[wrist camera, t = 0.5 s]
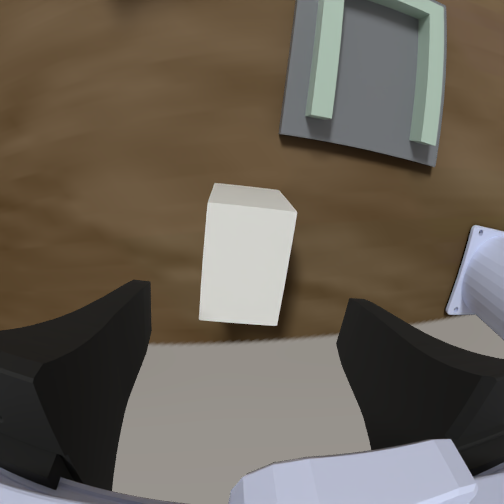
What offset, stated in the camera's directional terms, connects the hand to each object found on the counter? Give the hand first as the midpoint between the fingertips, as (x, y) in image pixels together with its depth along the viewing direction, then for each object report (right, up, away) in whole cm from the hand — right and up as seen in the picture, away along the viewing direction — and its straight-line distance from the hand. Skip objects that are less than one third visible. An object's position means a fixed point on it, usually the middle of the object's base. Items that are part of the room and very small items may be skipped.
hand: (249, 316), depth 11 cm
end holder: (+8, +15, +6) cm, 18 cm away
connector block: (-1, +4, +10) cm, 10 cm away
